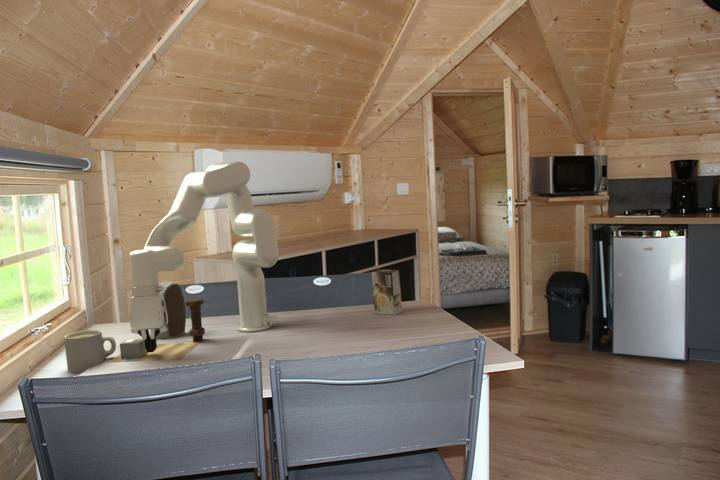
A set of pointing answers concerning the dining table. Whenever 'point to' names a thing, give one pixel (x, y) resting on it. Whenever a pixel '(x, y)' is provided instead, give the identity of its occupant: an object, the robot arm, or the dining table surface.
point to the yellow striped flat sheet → (163, 353)
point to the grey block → (133, 348)
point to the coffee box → (387, 292)
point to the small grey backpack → (173, 310)
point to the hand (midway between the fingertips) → (151, 351)
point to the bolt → (196, 319)
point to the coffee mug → (86, 349)
